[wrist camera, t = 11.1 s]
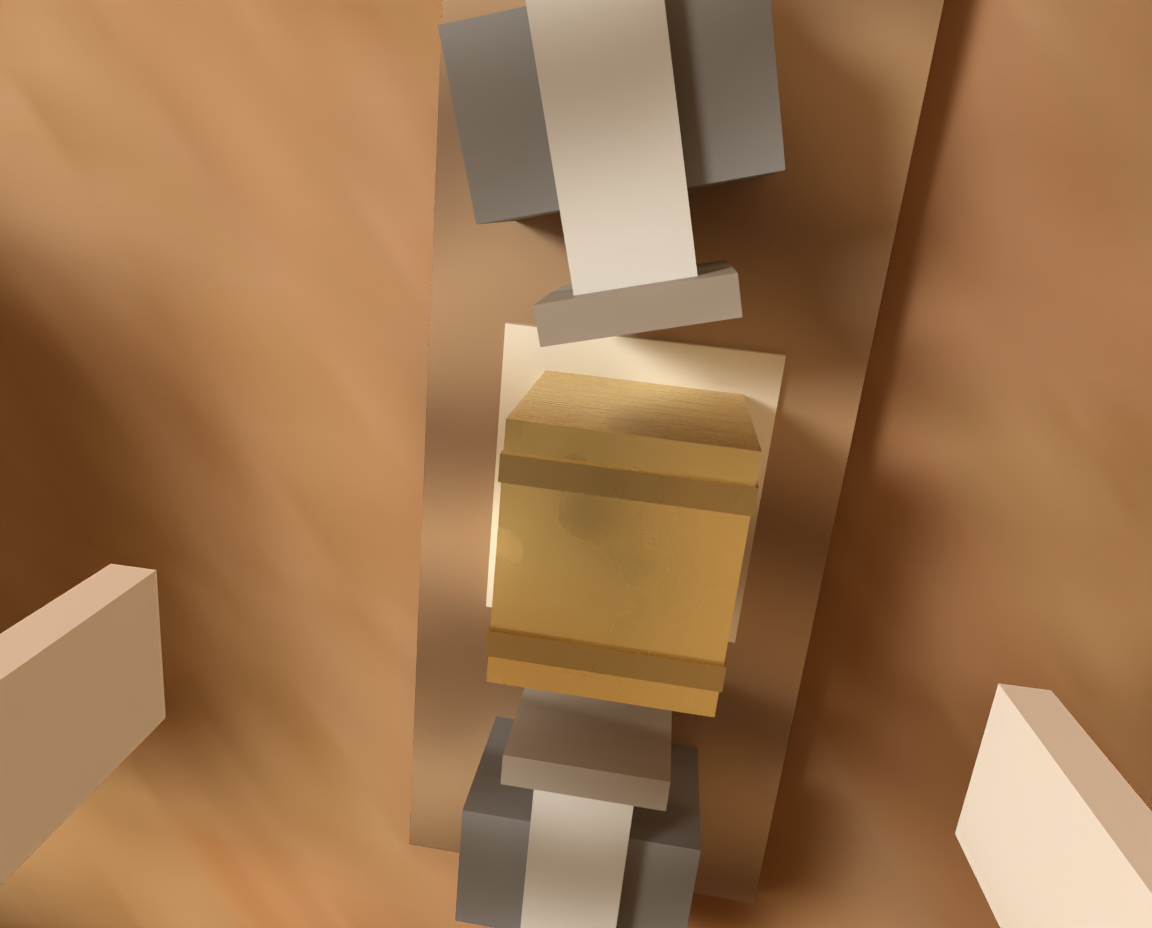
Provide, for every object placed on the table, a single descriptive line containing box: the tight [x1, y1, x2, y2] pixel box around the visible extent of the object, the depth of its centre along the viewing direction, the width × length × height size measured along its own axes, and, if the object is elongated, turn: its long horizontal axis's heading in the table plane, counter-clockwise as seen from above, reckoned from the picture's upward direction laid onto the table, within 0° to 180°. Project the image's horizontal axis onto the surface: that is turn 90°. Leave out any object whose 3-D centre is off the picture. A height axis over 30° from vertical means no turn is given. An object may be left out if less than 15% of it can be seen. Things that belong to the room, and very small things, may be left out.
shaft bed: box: [409, 0, 944, 928], centre depth 20 cm, size 26×11×6 cm, turn 175°
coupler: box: [485, 370, 762, 717], centre depth 19 cm, size 6×5×5 cm
